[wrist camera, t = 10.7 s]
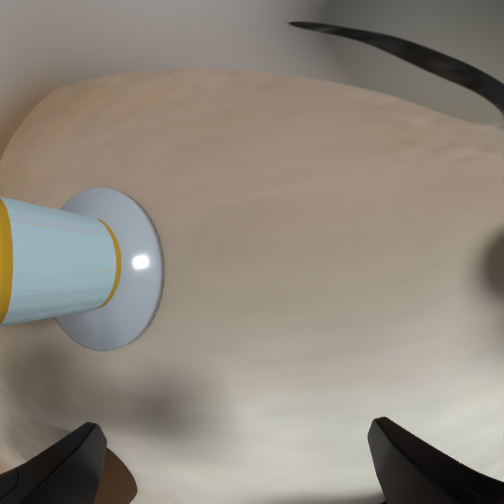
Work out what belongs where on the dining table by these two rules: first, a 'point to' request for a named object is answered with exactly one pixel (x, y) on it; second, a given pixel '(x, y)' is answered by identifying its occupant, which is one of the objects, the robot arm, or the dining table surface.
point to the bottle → (53, 262)
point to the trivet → (132, 273)
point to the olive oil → (112, 482)
